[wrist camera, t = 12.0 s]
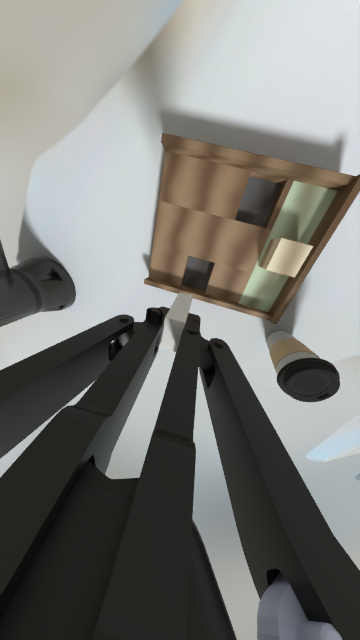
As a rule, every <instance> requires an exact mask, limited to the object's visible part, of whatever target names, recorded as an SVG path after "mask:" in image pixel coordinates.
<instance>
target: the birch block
mask: <svg viewBox="0 0 360 640" xmlns="http://www.w3.org/2000/svg"><path fill="white" fill-rule="evenodd" d="M312 248H313V246H311V245H307V244H303V243H299V242H295V241H291V240H287V239H283V238H278V239H271V240H270V242H269V244H268V247H267V249H266V251H265V253H264V255H263V257H262V260H261V262H260V264H259V267H261V268H263V269H265V270H269V271H272V272H276V273H280V274H284V275H287V276H291V277H295V276H296V275H297V273H298V271H299V270H300V268H301V266H302V264H303V263H304V261H305V259H306V258H307V256H308V254H309V253H310V251H311V249H312Z"/></svg>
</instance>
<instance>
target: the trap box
mask: <svg viewBox="0 0 360 640" xmlns="http://www.w3.org/2000/svg"><path fill="white" fill-rule="evenodd" d="M161 143H162V145H163V147H164V149H165V159H164V166H163V174H162V181H161V189H160V196H159V204H158V211H157V219H156V226H155V234H154V241H153V248H152V256H151V263H150V271H149V277H148V278H146V279H144V284H147V285H150V286H154V287H157V288H161V289H164V290H167V291H171V292H174V293H178V294H179V292H182V293H186V294H190V295H193V297H192V298H195V299H198V300H201V301H205V302H208V303H212V304H215V305H218V306H222V307H225V308H229V309H232V310H236V311H239V312H242V313H246V314H249V315H253V316H256V317H259V318H263V319H266V320H270V321H271V323H274V324H277V322H278V321H279V319H280V317H281V316H282V314H283V313H284V311H285V309H286V308H287V306H288V305H289V303H290V301H291V300H292V298H293V297H294V295H295V293H296V292H297V290H298V289H299V287H300V285H301V284H302V282H303V281H304V279H305V278H306V276H307V274H308V273H309V271H310V270H311V268H312V266H313V265H314V263H315V262H316V260H317V258H318V257H319V255H320V254H321V252H322V250H323V249H324V247H325V246H326V244H327V242H328V241H329V239H330V238H331V236H332V234H333V233H334V231H335V230H336V228H337V227H338V225H339V223H340V222H341V220H342V219H343V217H344V215H345V214H346V212H347V211H348V209H349V207H350V206H351V204H352V203H353V201H354V199H355V198H356V196H357V195H358V193H359V191H360V175H358V176H352V175H348V174H343V173H339V172H334V171H330V170H325V169H321V168H316V167H312V166H307V165H303V164H299V163H294V162H290V161H285V160H281V159H276V158H272V157H267V156H263V155H258V154H254V153H250V152H245V151H241V150H236V149H232V148H227V147H223V146H218V145H214V144H209V143H205V142H201V141H196V140H192V139H187V138H183V137H178V136H174V135H169V134H165V133H162V140H161ZM278 238H283V239H287V240H291V241H295V242H299V243H303V244H307V245H311V246H313V248H312V249H311V251H310V253H309V254H308V256H307V258H306V259H305V261H304V263H303V264H302V266H301V268H300V270H299V271H298V273H297V275H296V276H295V277H291V276H287V275H284V274H280V273H276V272H272V271H269V270H265V269H263V268H261V267H259V264H260V262H261V260H262V257H263V255H264V253H265V251H266V249H267V247H268V244H269V242H270V240H271V239H278Z"/></svg>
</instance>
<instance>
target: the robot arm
mask: <svg viewBox="0 0 360 640" xmlns="http://www.w3.org/2000/svg"><path fill="white" fill-rule="evenodd" d="M75 296H76V293H75V287H74V284H73V281H72V279H71V278H70V276H69V274H68V273H67V272H66V271H65V269H64V268H63V267H61V266H60V265H59V264H58V263H56V262H55V261H53V260H51V259H48V258H32V259H29V260H26V261H24V262H22V263H20V264H18V265H16V266H13V267H11V268H9V267H8V263H7V260H6V257H5V254H4V251H3V247H2V244H1V241H0V327H1V326H4V325H7V324H9V323H12V322H14V321H17V320H19V319H22V318H25V317H27V316H30V315H32V314H35V313H38V312H47V311H58V310H63V309H65V308H68V307H70V306H71V305H72V304H73V303H74V300H75ZM192 297H193V295H190V294H186V293H182V292H179V294H178V296H177V298H176V299H175V301H174V303H173V305H172V306H171V308H166V307H160V308H148V309H147V313H146V320H145V321H144V322H134V318H133V317H131V316H129V315H118V316H116V317H113V318H111V319H109V320H107V321H105V322H103V323H101V324H98V325H96V326H94V327H92V328H90V329H88V330H86V331H84V332H82V333H79V334H77V335H75V336H73V337H71V338H69V339H66V340H64V341H62V342H60V343H58V344H56V345H54V346H51V347H49V348H47V349H45V350H43V351H41V352H39V353H36V354H34V355H32V356H30V357H28V358H26V359H24V360H21V361H19V362H17V363H15V364H13V365H11V366H9V367H7V368H4V369H2V370H0V458H1V457H3V456H4V455H5V454H6V453H8V452H9V451H10V450H11V449H12V448H14V447H15V446H16V445H17V444H19V443H20V442H21V441H22V440H23V439H25V438H26V437H27V436H28V435H30V434H31V433H32V432H33V431H34V430H36V429H37V428H38V427H39V426H40V425H41V424H43V423H44V422H45V421H47V420H48V419H49V418H50V417H51V416H53V415H54V414H55V413H56V412H57V411H58V410H60V409H61V408H62V407H63V406H65V405H66V404H67V403H68V402H70V401H71V400H72V399H73V398H74V397H76V396H77V395H78V394H79V393H81V392H82V391H83V390H84V389H85V388H87V387H88V386H89V385H90V384H91V383H93V382H94V381H95V380H96V379H97V380H96V381H95V382H94V383H93V384H92V386H91V387H90V388H89V389H88V391H87V392H86V393H85V394H84V395H83V397H82V398H81V399H80V401H79V402H77V404H75V405H74V406H67V407H65V408H63V409H62V410H61V411H60V412H59V413H58V414H57V415H56V416H55V417H54V418H53V419H52V420H51V421H50V422H49V423H48V425H47V426H46V427H45V428H44V429H43V430H42V431H41V433H40V434H39V435H38V436H37V437H36V438H35V439H34V440H33V442H32V443H31V444H30V445H29V446H28V447H27V448H26V449H25V451H24V452H23V453H22V454H21V455H20V456H19V457H18V459H17V460H16V461H15V462H14V463H13V464H12V465H11V467H10V468H9V469H8V470H7V471H6V472H5V473H4V474H3V475H2V477H1V478H0V640H237V639H236V636H235V633H234V630H233V627H232V624H231V622H230V619H229V616H228V613H227V610H226V607H225V604H224V601H223V598H222V596H221V593H220V590H219V587H218V584H217V581H216V578H215V575H214V572H213V569H212V566H211V564H210V561H209V558H208V555H207V552H206V549H205V546H204V543H203V541H202V538H201V536H200V533H199V531H198V529H197V527H196V525H195V523H194V521H193V519H192V512H193V494H194V476H195V458H196V456H195V455H196V454H195V453H196V449H195V443H194V442H193V429H194V415H195V402H196V389H197V375H198V367H200V368H199V369H200V375H201V379H202V383H203V387H204V391H205V396H206V400H207V404H208V408H209V412H210V417H211V421H212V425H213V429H214V433H215V438H216V442H217V446H218V450H219V454H220V458H221V463H222V466H223V471H224V475H225V479H226V483H227V488H228V492H229V496H230V500H231V505H232V509H233V513H234V517H235V521H236V525H237V529H238V533H239V537H240V540H241V544H242V548H243V551H244V555H245V558H246V561H247V564H248V567H249V570H250V572H251V576H252V579H253V582H254V585H255V587H256V590H257V593H258V595H259V598H260V602H259V608H258V614H257V639H258V640H360V571H359V569H358V568H357V566H356V565H355V564H354V562H353V561H352V560H351V558H350V557H349V556H348V554H347V553H346V552H345V550H344V549H343V547H342V546H341V545H340V543H339V542H338V541H337V539H336V538H335V537H334V535H333V533H332V532H331V530H330V528H329V526H328V525H327V523H326V521H325V519H324V517H323V515H322V514H321V512H320V510H319V508H318V506H317V505H316V503H315V501H314V499H313V497H312V496H311V494H310V492H309V490H308V489H307V487H306V485H305V483H304V481H303V479H302V478H301V476H300V474H299V472H298V470H297V469H296V467H295V465H294V463H293V461H292V460H291V458H290V456H289V455H288V452H287V451H286V449H285V447H284V445H283V443H282V442H281V440H280V438H279V436H278V434H277V433H276V431H275V429H274V427H273V425H272V424H271V422H270V420H269V418H268V416H267V415H266V413H265V411H264V409H263V407H262V406H261V404H260V402H259V400H258V398H257V397H256V395H255V393H254V391H253V389H252V388H251V386H250V384H249V382H248V380H247V378H246V377H245V375H244V373H243V371H242V369H241V368H240V366H239V364H238V362H237V360H236V359H235V357H234V355H233V353H232V351H231V350H230V348H229V346H228V345H227V343H226V342H224V341H223V340H221V339H217V338H213V339H211V340H210V341H208V340H206V339H204V338H203V337H202V336H201V333H200V317H199V316H198V315H194V314H190V313H189V309H190V305H191V301H192ZM113 340H114V342H113V343H111V342H112V341H113ZM159 345H160V347H161V348H164V349H168V350H172V351H175V352H176V355H175V359H174V362H173V366H172V369H171V373H170V376H169V380H168V383H167V387H166V390H165V394H164V397H163V400H162V404H161V407H160V411H159V414H158V418H157V421H156V425H155V428H154V431H153V434H152V437H151V440H150V444H149V447H148V451H147V454H146V457H145V461H144V464H143V468H142V472H141V475H140V478H130V479H110V478H108V477H107V476H106V475H105V472H106V470H107V467H108V464H109V461H110V458H111V454H112V451H113V449H114V447H115V444H116V442H117V440H118V438H119V436H120V433H121V431H122V429H123V427H124V425H125V422H126V420H127V418H128V416H129V414H130V411H131V409H132V407H133V405H134V403H135V401H136V398H137V396H138V394H139V392H140V390H141V387H142V385H143V383H144V381H145V379H146V376H147V374H148V372H149V370H150V368H151V365H152V363H153V361H154V359H155V357H156V354H157V352H158V348H159Z"/></svg>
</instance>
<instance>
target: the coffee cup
mask: <svg viewBox="0 0 360 640" xmlns="http://www.w3.org/2000/svg"><path fill="white" fill-rule="evenodd" d="M266 343H267V346H268V349H269V351H270V356H271V359H272V362H273V365H274V368H275V370H276V373H277V374H278V375H277V383H278V385H279V386H280V388H281V389H282V390H283V391H284V392H285V393H286V394H288V395H290V396H291V397H293V398H294V399H296V400H299V401H303V402H317V401H322V400H325V399H327V398H330V397H331V396H333V395H334V394H335V393H336V392H337V391H338V389H339V386H340V381H339V379H340V378H339V373H338V371H337V370H336V368H335V367H334V365H332V364H331V363H330V362H328V361H326V360H323V359H320V358H319V357H318V356H317V355H316V354H315V353H314V352H312V351H311V350H310V349H309V348H307V347H306V346H305V345H304V344H303V343H301V342H300V341H298V340H297V339H295V338H294V337H293V336H292V335H291V334H289V333H288V332H286V331H283V330H278V331H274V332H272V333H271V334H270V335H269V336H268V337H267V339H266Z"/></svg>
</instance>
